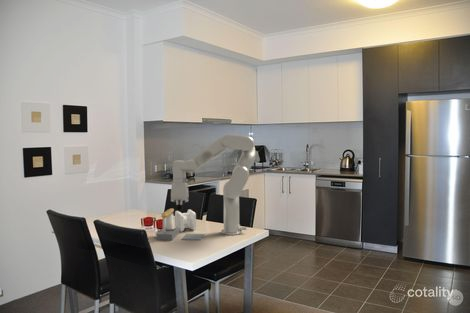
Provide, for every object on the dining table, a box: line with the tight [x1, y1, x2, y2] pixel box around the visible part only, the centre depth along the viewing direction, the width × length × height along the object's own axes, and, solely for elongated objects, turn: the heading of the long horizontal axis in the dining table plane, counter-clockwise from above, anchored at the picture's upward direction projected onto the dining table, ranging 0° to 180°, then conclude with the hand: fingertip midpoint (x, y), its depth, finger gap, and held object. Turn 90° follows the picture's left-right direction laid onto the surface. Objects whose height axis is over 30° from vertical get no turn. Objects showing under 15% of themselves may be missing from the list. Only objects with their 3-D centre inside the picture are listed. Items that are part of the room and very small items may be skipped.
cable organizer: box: [174, 209, 197, 233], centre depth 239 cm, size 15×11×12 cm
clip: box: [161, 208, 175, 218], centre depth 222 cm, size 3×18×2 cm, turn 174°
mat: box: [180, 233, 205, 241], centre depth 221 cm, size 11×12×1 cm
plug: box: [166, 212, 176, 231], centre depth 225 cm, size 6×6×13 cm
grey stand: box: [155, 217, 180, 241], centre depth 222 cm, size 9×16×13 cm, turn 174°
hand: (179, 211), depth 228 cm, fingers closed
